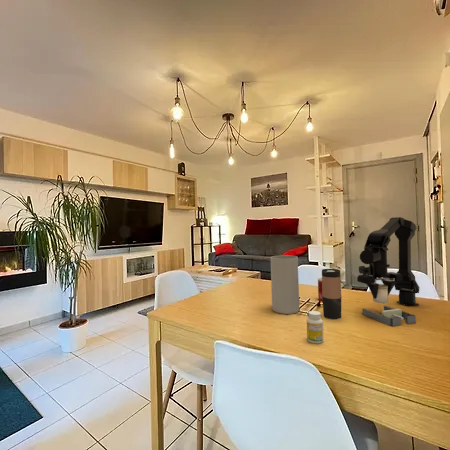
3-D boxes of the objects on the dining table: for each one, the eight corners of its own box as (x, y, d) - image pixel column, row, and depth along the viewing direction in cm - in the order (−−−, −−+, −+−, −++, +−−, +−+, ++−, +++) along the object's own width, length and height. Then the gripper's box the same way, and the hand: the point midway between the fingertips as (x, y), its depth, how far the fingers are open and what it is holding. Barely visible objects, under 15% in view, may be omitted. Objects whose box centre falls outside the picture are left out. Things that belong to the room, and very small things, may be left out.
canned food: (336, 302, 131) (335, 280, 131) (319, 302, 133) (319, 280, 133) (333, 298, 138) (332, 277, 138) (317, 298, 140) (316, 277, 140)
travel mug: (341, 314, 115) (339, 268, 115) (342, 320, 107) (341, 272, 107) (322, 312, 117) (321, 268, 117) (323, 318, 110) (321, 271, 110)
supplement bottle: (320, 345, 86) (319, 316, 86) (304, 341, 90) (303, 313, 90) (325, 339, 90) (324, 312, 90) (310, 335, 94) (309, 309, 94)
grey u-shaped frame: (385, 311, 116) (385, 304, 116) (417, 322, 102) (416, 315, 102) (362, 314, 114) (362, 307, 114) (391, 326, 99) (391, 318, 99)
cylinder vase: (304, 309, 123) (302, 256, 123) (291, 316, 113) (289, 259, 113) (280, 304, 131) (279, 254, 131) (267, 310, 122) (265, 257, 122)
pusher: (399, 317, 108) (399, 308, 108) (412, 322, 102) (411, 312, 102) (381, 319, 106) (381, 310, 106) (393, 324, 100) (393, 315, 100)
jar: (380, 298, 115) (380, 283, 115) (391, 302, 110) (391, 286, 110) (369, 300, 114) (369, 284, 114) (380, 303, 108) (379, 287, 108)
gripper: (381, 258, 122) (382, 291, 122) (347, 260, 117) (348, 295, 117) (403, 261, 111) (404, 297, 111) (366, 264, 106) (367, 302, 106)
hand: (380, 297), depth 112 cm, fingers closed on jar, 5 cm apart
